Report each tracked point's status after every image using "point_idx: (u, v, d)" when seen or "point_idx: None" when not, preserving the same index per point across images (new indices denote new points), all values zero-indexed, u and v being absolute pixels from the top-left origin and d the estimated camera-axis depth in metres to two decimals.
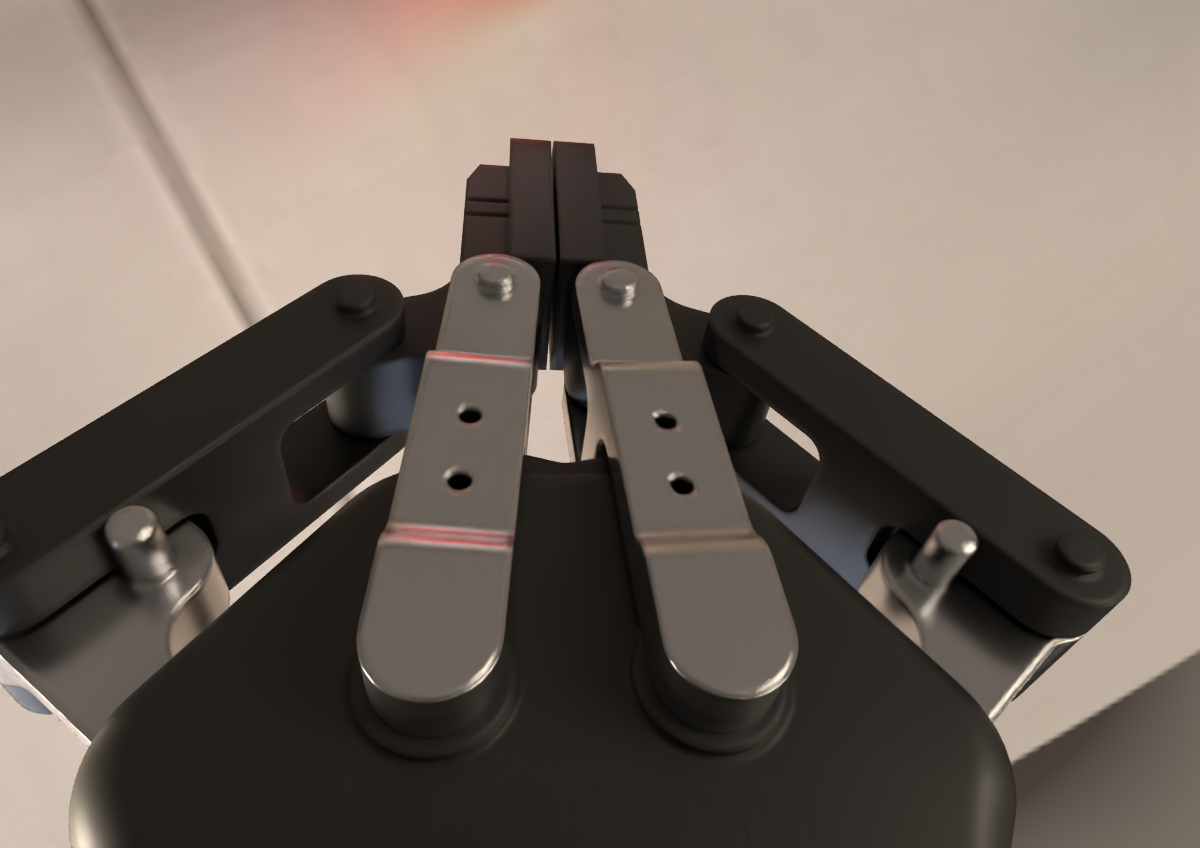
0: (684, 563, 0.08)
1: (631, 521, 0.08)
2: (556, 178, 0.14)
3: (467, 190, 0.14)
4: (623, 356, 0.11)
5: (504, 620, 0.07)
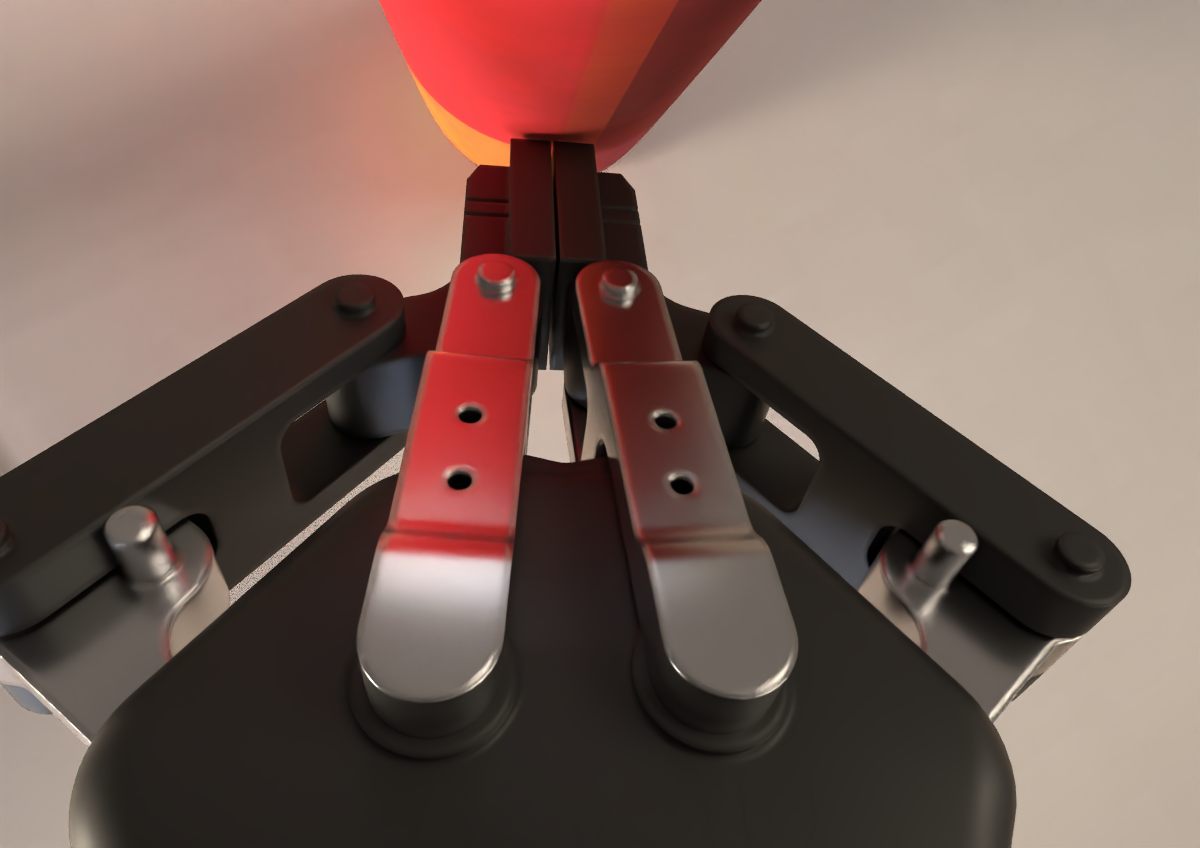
0: (684, 563, 0.08)
1: (631, 521, 0.08)
2: (556, 178, 0.14)
3: (467, 190, 0.14)
4: (623, 356, 0.11)
5: (504, 620, 0.07)
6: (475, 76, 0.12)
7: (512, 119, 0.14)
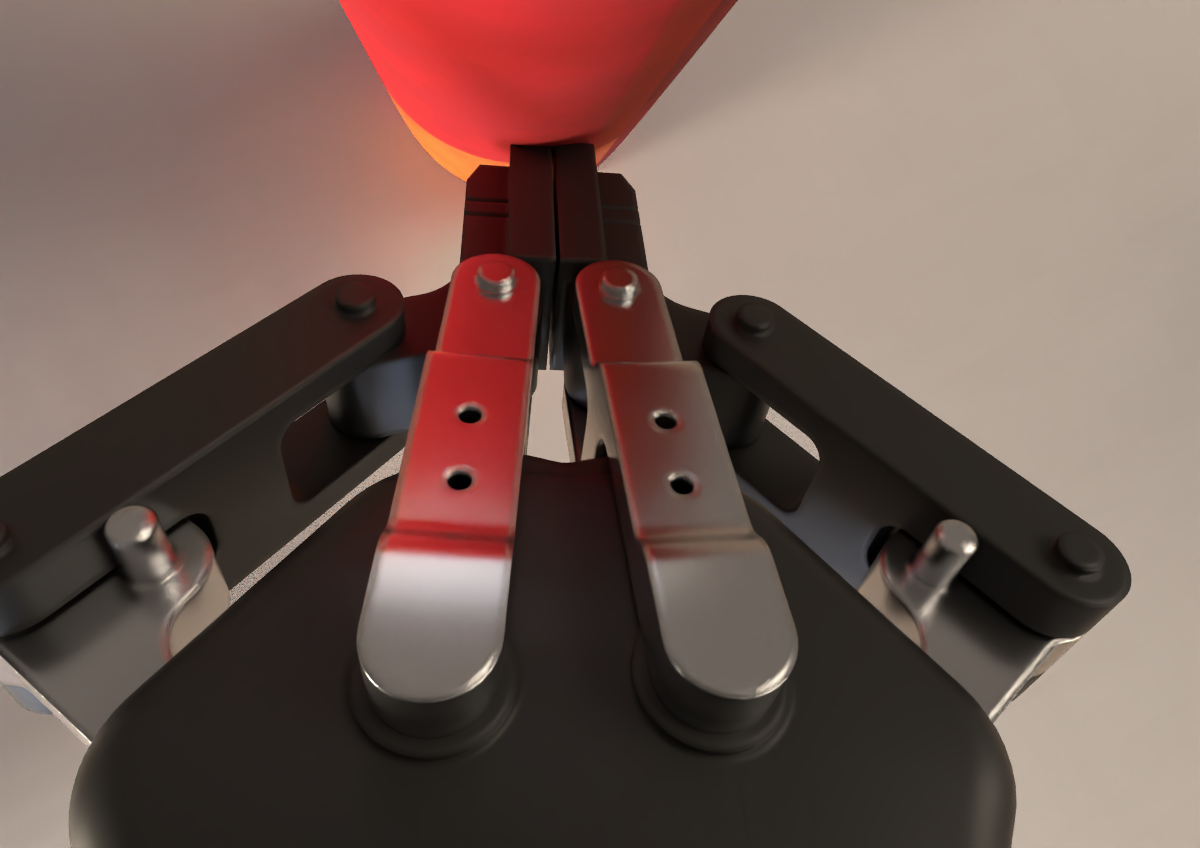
0: (684, 563, 0.08)
1: (631, 521, 0.08)
2: (556, 178, 0.14)
3: (467, 190, 0.14)
4: (623, 356, 0.11)
5: (504, 620, 0.07)
6: (521, 115, 0.12)
7: (551, 140, 0.14)
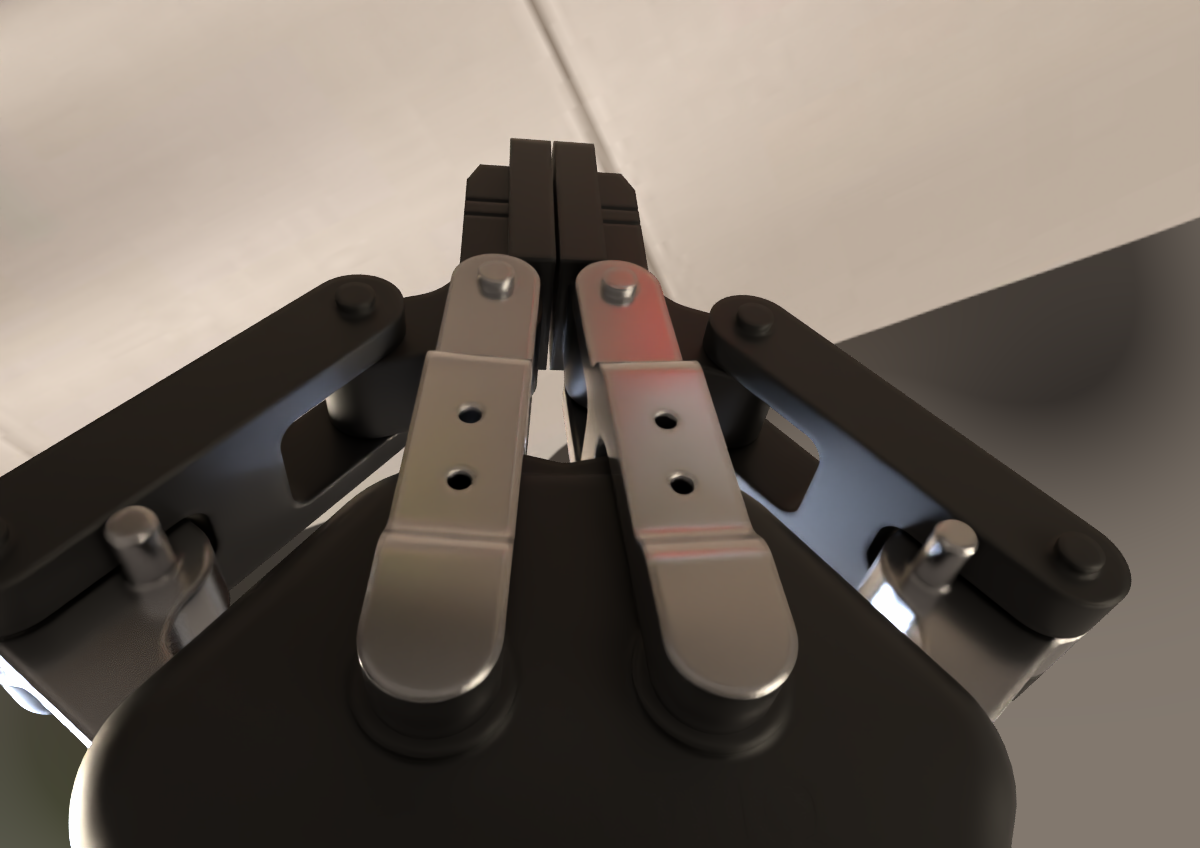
0: (684, 563, 0.08)
1: (631, 521, 0.08)
2: (556, 178, 0.14)
3: (467, 190, 0.14)
4: (623, 356, 0.11)
5: (504, 620, 0.07)
6: None
7: None
